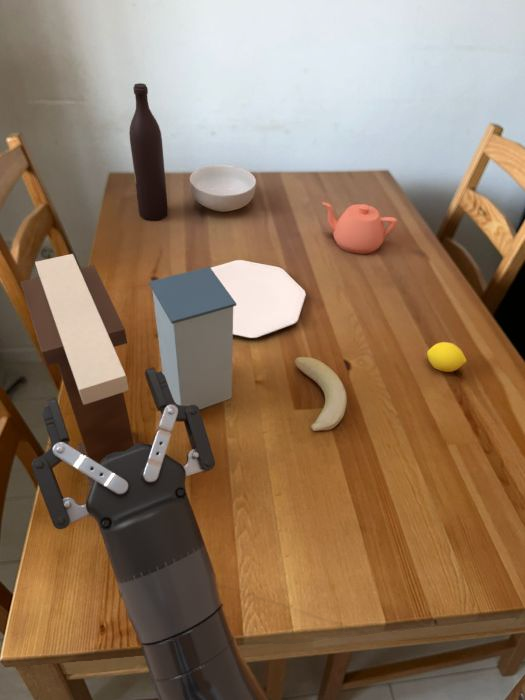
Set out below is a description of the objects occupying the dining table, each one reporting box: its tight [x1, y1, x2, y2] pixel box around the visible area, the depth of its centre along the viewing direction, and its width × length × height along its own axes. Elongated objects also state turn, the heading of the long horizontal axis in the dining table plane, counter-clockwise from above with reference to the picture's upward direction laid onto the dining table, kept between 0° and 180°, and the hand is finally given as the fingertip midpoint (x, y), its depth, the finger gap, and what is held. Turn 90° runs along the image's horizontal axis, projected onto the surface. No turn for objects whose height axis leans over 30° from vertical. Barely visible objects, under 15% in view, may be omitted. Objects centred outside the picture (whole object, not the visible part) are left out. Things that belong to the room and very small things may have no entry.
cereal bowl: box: [189, 164, 257, 213], centre depth 131 cm, size 17×17×7 cm
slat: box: [34, 253, 130, 405], centre depth 50 cm, size 4×20×2 cm, turn 27°
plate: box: [210, 259, 307, 339], centre depth 105 cm, size 24×24×2 cm
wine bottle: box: [128, 82, 169, 221], centre depth 118 cm, size 7×7×30 cm
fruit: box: [294, 356, 348, 432], centre depth 87 cm, size 7×15×3 cm, turn 9°
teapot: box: [321, 201, 399, 255], centre depth 121 cm, size 12×18×10 cm
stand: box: [20, 264, 137, 489], centre depth 65 cm, size 8×12×32 cm, turn 27°
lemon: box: [426, 341, 467, 373], centre depth 93 cm, size 7×5×5 cm
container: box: [148, 266, 236, 410], centre depth 81 cm, size 10×10×21 cm
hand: (102, 384), depth 45 cm, fingers open, 8 cm apart
